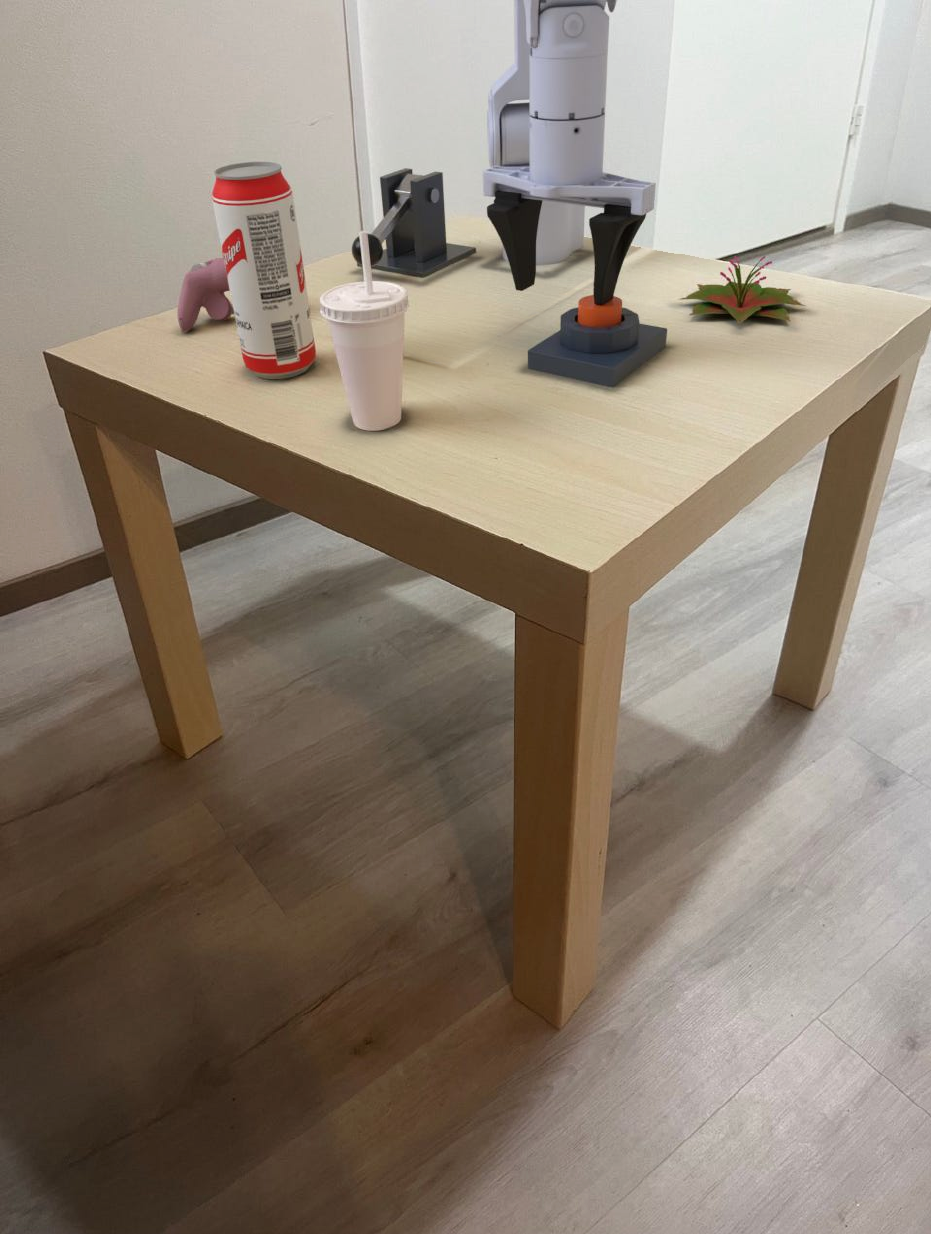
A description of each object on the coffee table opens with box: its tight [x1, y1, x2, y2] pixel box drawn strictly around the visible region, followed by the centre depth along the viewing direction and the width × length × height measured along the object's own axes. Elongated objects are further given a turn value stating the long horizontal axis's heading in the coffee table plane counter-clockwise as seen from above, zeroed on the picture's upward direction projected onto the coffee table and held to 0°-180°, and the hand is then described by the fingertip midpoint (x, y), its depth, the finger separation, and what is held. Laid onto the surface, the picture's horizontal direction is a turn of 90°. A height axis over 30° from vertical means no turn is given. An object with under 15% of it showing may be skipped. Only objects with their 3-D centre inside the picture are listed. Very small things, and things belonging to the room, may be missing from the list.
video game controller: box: [177, 257, 233, 333], centre depth 90 cm, size 10×5×7 cm, turn 84°
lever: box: [351, 173, 424, 267], centre depth 97 cm, size 12×3×3 cm, turn 145°
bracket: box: [356, 167, 477, 279], centre depth 100 cm, size 10×9×9 cm
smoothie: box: [319, 230, 410, 432], centre depth 68 cm, size 6×6×14 cm
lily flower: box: [677, 255, 806, 325], centre depth 87 cm, size 12×12×5 cm
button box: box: [527, 306, 668, 388], centre depth 79 cm, size 10×8×4 cm
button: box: [577, 294, 623, 327], centre depth 78 cm, size 4×4×2 cm
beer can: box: [211, 161, 317, 380], centre depth 77 cm, size 6×6×16 cm
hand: (563, 294), depth 79 cm, fingers open, 7 cm apart
